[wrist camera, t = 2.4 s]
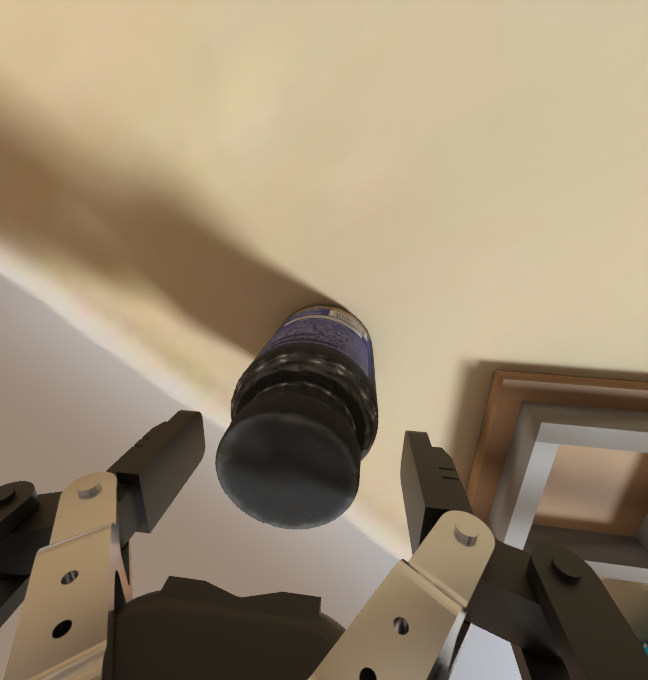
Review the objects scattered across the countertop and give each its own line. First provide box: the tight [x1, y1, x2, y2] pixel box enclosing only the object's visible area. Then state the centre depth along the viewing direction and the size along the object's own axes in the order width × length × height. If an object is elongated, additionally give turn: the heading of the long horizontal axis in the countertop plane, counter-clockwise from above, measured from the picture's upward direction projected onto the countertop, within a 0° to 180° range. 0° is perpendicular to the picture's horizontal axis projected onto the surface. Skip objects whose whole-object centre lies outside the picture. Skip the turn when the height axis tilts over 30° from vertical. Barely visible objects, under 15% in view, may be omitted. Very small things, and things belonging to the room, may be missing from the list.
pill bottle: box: [215, 304, 378, 529], centre depth 15 cm, size 6×6×11 cm
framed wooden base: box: [466, 370, 648, 584], centre depth 19 cm, size 13×13×3 cm
